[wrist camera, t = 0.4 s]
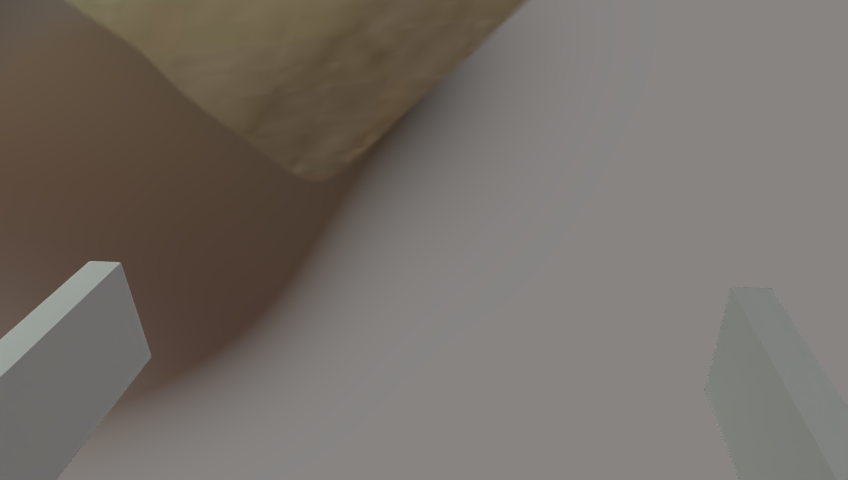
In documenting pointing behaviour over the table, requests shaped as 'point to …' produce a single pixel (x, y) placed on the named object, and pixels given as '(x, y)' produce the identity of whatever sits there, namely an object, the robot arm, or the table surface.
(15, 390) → the robot arm
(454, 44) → the table surface
